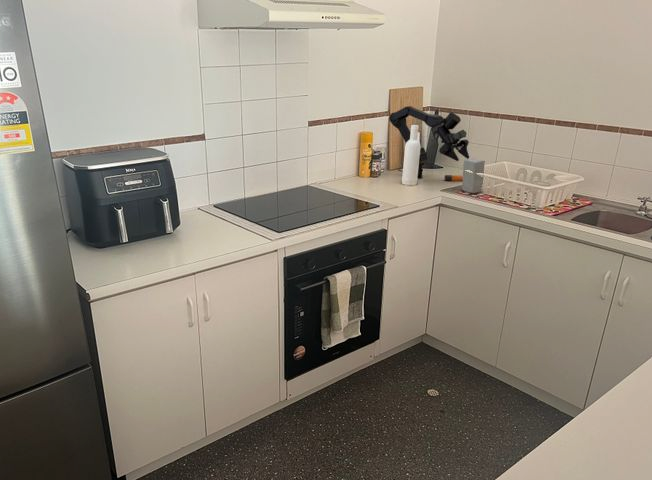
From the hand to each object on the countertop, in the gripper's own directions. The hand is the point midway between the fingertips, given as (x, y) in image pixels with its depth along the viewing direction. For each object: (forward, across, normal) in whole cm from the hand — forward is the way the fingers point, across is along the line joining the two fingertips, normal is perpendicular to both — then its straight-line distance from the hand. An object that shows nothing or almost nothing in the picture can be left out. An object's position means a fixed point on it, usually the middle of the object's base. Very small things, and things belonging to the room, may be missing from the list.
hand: (463, 159), depth 279 cm
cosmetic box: (+16, -3, +5) cm, 17 cm away
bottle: (-6, -14, +25) cm, 29 cm away
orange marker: (+3, +11, +16) cm, 20 cm away
